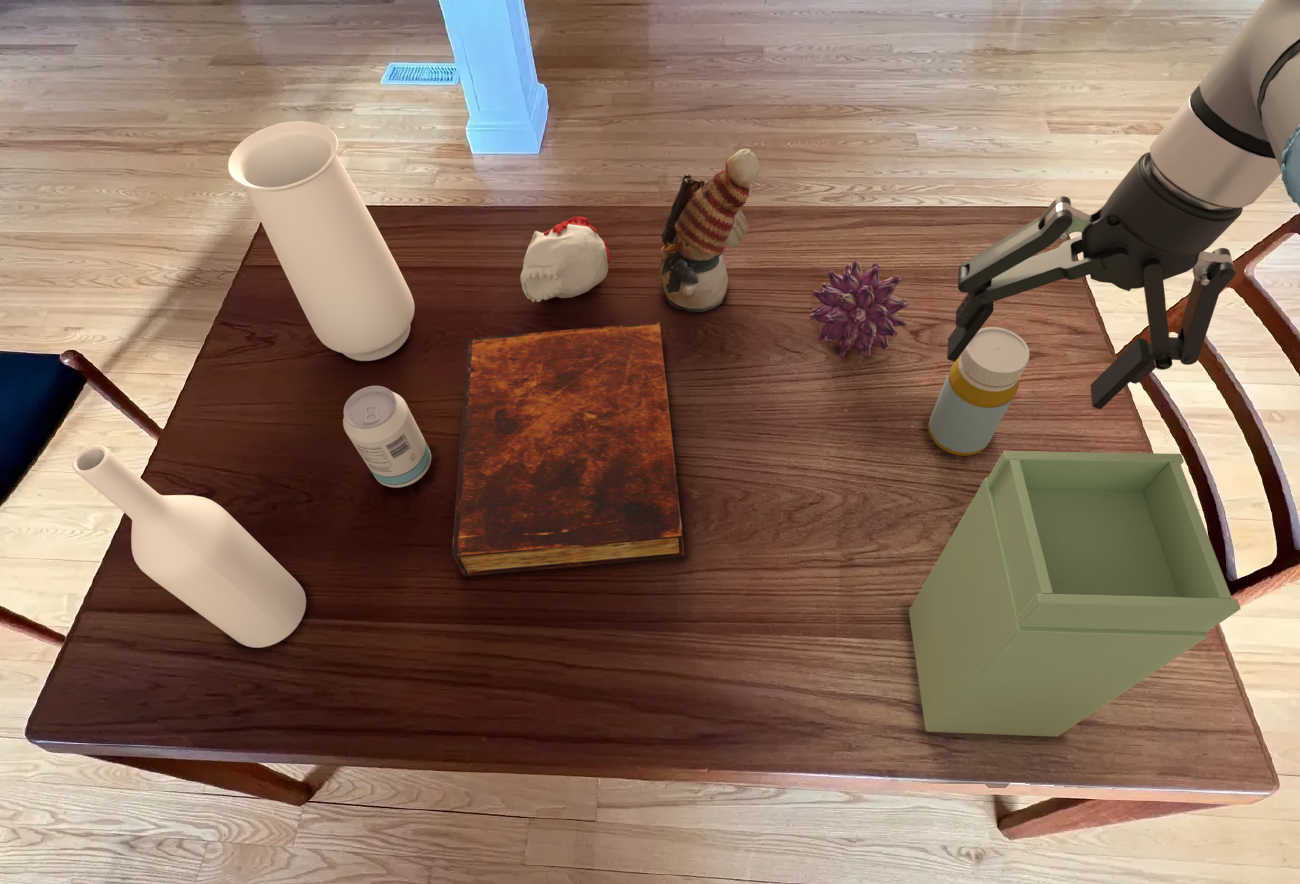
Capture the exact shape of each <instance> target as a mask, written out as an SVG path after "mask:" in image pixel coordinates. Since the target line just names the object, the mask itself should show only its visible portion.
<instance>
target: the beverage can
mask: <svg viewBox="0 0 1300 884" xmlns="http://www.w3.org/2000/svg"><path fill="white" fill-rule="evenodd" d="M342 419H343V420H342V425H343V426H342V427H343V429H344V432H345V433H346V435H347V437H348V438H349V440H350V441H351V442H352V444H353V446H354V448H355V449H356V451H357V452H358V454H359V456H361V458H362V460H363V462H364V463H365V464H366V466H367V468H368V470H369V471H370V472H371V474H372V476H373V477H374V478H375V479H376V481H377V482H378V483H380V485H383V486H385V487H389V488H403V487H404V488H405V487H408V486H410V485H412V484H414V483H416V482H418V481H419V480H420V479H422V478H423V476H425V474H426V473H427V472H428V470H429V468H430V466H431V463H432V453H431V450H430V448H429V446H428V443H427V441H426V439H425V438H424V435H423V433H422V431H421V430H420V428H419V426H418V424H417V421H416V420H415V418H414V416H413V414H412V412H411V410H410V408H409V406H408V404H407V402H406V401H405V399H404V398H403V396H401V395H400V394H398V393H396V392H394V391H392V390H391V389H389V388H387V387H385V386H382V385H370V386H365V387H363V388H361V389H360V388H359V390H357V391H355V392H354V393H352V395H351V396H350V397H349V398H348V399H347V400H346V402H345V404H344V407H343V418H342Z"/></svg>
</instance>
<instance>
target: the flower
mask: <svg viewBox="0 0 1300 884" xmlns="http://www.w3.org/2000/svg"><path fill="white" fill-rule="evenodd" d="M880 270H881V266H880V263H877V262H875V261H874V262H873V264H872V265H871V266H870V268H868V269H867V270H866V271H865V272H863V271H862V269H861V267H860V266H859V260H858V259H854V260H853V261H852V263H850V264H849V263H848V264H846V265H845V270H843V271H842V275H841V274H839V273H837V272H834V271H833V269H830V270H828V271H827V272H826V274H827V275H828V277H829V283H830V284H829V283H826V282H823V283H822V285H821V287H820V288H819V290H815V289H813V291H812V293H811V295H812V296H814V297H816V298H817V300H819V302H820V303H821V304H820V305H819V306H818V307H815V308H812V310H811V313H810V314H809V315H808V316H809V319H810V321H817V322H819V323H822V324H823V327H822V329H821V331H820V333H819V334H818V335H817V336H816V338H817V340H818V342H819V343H823V342H824V343H825V344H828V343H829V342H832V341H835V340H838V344H839V354H838V355H839V356H841V357H842V358H844V357H845V356H846V353H847V351H848V350H850V349H851V348H852V347H853V346H854V347H855V349H856V351H857V352H858V357H859V358H861V357H863V355H865V356H869V355H871V354H872V353H871V347H872V345H877V346H879V347H880V348H881V349H882V350H883V351H884V352H885V351H887V350H888V348H891V345H890V344H889V339H888V337H889V336H890V337H892V338H896V336H898V333H899V331H898V330H897V329H896V328H895V327H900V326H901V327H907V325H908V322H907V321H905V320H903V319H902V318H901V317H899V315H898V314H896V313H898V312H899V311H901V310H902V309H905V308H908V305H909V302H908V298H907V297H906V298H901V297H898V296H896V295H893V294H894V292H895V290H896V288H897V285H898V284H900V282H901V281H902V278H901V277H900V275H896V276H895V277H891V276H890V277H889V278H888V279H885V280H881V279H880V274H879V273H880ZM880 280H881V281H880Z"/></svg>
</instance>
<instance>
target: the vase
mask: <svg viewBox="0 0 1300 884" xmlns="http://www.w3.org/2000/svg"><path fill="white" fill-rule="evenodd" d="M339 146H340V145H339V139H338V137H337V135H336V134H335V132H334V131H333V130H332V129H330V128H329V127H327V125H324V124H322V123H318V122H315V121H309V120H290V121H285V122H279V123H275V124H271V125H268V126H266V127H264V128H262V129H260V130H259V129H258V130H257V131H255V132H253V133H251V134H250V135H249V136H247V137H246V138H244V139H243V140H242V141H241V142H239V144H237V146H236V147H235V148H234V149H233V151H232V153H231V154H230V156H229V159H228V163H227V169H228V174H229V176H230V177H231V179H232V180H233V181H234V182H235V183H236V184H238V185H239V186H241V187H244V188H245V190H246V192H247V194H248V197H249V199H250V200H251V204H252V205H253V208H254V210H255V212H256V214H257V216H258V219H259V221H260V223H261V225H262V227H263V229H264V231H265V233H266V236H267V238H268V240H269V242H270V244H271V246H272V248H273V251H274V253H275V255H276V257H277V259H278V261H279V263H280V265H281V268H282V270H283V272H284V275H285V276H286V278H287V280H288V282H289V285H290V286H291V289H292V290H293V292H294V296H295V297H296V299H297V301H298V303H299V305H300V307H301V309H302V311H303V313H304V315H305V317H306V320H307V321H308V323H309V324H310V326H311V328H312V330H313V332H314V333H315V335H316V337H317V338H318V339H319V342H321V343H322V344H323V345H324V346H326V347H327V348H328V349H330V350H331V351H335V352H337V353H341V354H342V355H344V356H345V357H347V358H349V359H352V360H354V361H358V362H370V361H376V360H380V359H383V358H385V357H388V356H390V355H392V354H393V353H395V352H396V351H398V350H399V349H400V348H401V347H402V346H403V345H404V344H405V342H406V341H407V339H408V338H409V336H410V332H411V324H412V321H413V319H414V316H415V308H416V307H415V301H414V297H413V294H412V292H411V290H410V288H409V286H408V284H407V282H406V280H405V277H404V276H403V274H402V272H401V270H400V268H399V266H398V264H397V262H396V260H395V258H394V256H393V255H392V252H391V251H390V248H389V247H388V244H387V243H386V241H385V239H384V238H383V236H382V234H381V232H380V229H379V228H378V227H377V224H376V222H375V221H374V219H373V217H372V215H371V213H370V211H369V209H368V207H367V206H366V204H365V202H364V201H363V198H362V197H361V195H360V193H359V191H358V190H357V188H356V186H355V184H354V183H353V181H352V179H351V177H350V175H349V173H348V172H347V170H346V168H345V166H344V164H343V163H342V161H341V159H340V157H339V155H338V153H339V148H340V147H339Z"/></svg>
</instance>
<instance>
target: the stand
mask: <svg viewBox="0 0 1300 884" xmlns="http://www.w3.org/2000/svg"><path fill="white" fill-rule="evenodd" d="M1184 462H1185V461H1184V458H1183V455H1182V453H1162V452H1161V453H1157V452H1156V453H1154V452H1153V453H1151V452H1150V453H1149V452H1087V451H1086V452H1081V451H1079V452H1077V451H1021V450H1020V451H1015V450H1014V451H1013V450H1011V451H1010V450H1009V451H1008V450H1004V451H1003V452H1002V453H1001V454H1000V456H999V458H998V459H997V462H995V464H994V467H993V468H992V470H991V471H990V474H989V475H988V477H987V476H986V477H984V479H983V481H982V483H981V485H980V486H979V488H978V490H977V492H976V493H975V495H974V496H973V498H972V500H971V502H970V504H969V505H968V507H967V509H966V510H965V512H964V514H963V515H962V517H961V519H960V521H959V523H958V525H956V528H955V529H954V531H953V533H952V535H951V536H950V538H949V540H948V542H947V543H946V545H945V547H944V548H943V551H942V552H941V554H940V556H939V557H938V559H937V561H936V562H935V564H934V566H933V567H932V569H931V571H930V573H929V575H928V576H927V578H926V580H925V582H924V583H923V585H922V587H921V589H920V590H919V592H918V593H917V596H916V597H915V599H914V600H913V602H912V604H911V606H910V608H909V609H908V614H909V615H908V616H909V623H910V631H911V635H912V644H913V651H914V659H915V664H916V665H915V666H916V672H917V673H916V674H917V680H918V688H919V694H920V701H921V708H922V716H923V723H924V729H925V732H928V733H951V734H952V733H954V734H978V735H979V734H980V735H1003V736H1004V735H1007V736H1028V737H1029V736H1031V737H1032V736H1033V737H1055V738H1056V737H1057V738H1058V737H1059V736H1061V735H1062V734H1064V733H1066V732H1067V731H1069V730H1070V729H1071V728H1073V727H1074V726H1076V725H1077V724H1079V723H1080V722H1082V721H1083V720H1085V719H1087V718H1089V716H1091V715H1092V714H1094V713H1095V712H1097V711H1098V710H1100V709H1101V708H1103V707H1104V706H1106V705H1107V704H1109V703H1111V702H1112V701H1113V700H1115V699H1117V698H1118V697H1119V696H1121V695H1122V694H1124V693H1125V692H1127V691H1128V690H1130V689H1132V688H1133V687H1134V686H1136V685H1138V684H1139V683H1141V682H1142V681H1144V680H1145V679H1146V678H1148V677H1150V676H1151V675H1152V674H1154V673H1156V672H1157V671H1158V670H1160V669H1162V668H1163V667H1165V666H1166V665H1168V664H1169V663H1171V662H1172V661H1173V660H1176V659H1177V658H1178V657H1179V656H1181V655H1183V654H1184V653H1185V652H1187V651H1189V650H1190V649H1192V648H1193V647H1194V646H1196V645H1198V644H1199V643H1201V642H1202V641H1203V640H1205V639H1207V638H1208V634H1207V633H1208V632H1209V631H1210V630H1213V628H1215V627H1217V626H1218V625H1219V624H1221V623H1223V622H1224V621H1225V620H1227V619H1228V618H1230V617H1231V616H1233V615H1234V614H1236V613H1237V612H1239V611H1240V610H1241V608H1242V607H1241V605H1240V603H1239V600H1238V599H1237V598H1232V597H1233V596H1232V594H1231V592H1230V590H1229V587H1228V584H1227V581H1226V580H1225V577H1224V573H1223V572H1222V569H1221V566H1220V563H1219V560H1218V558H1217V555H1216V553H1215V550H1214V548H1213V545H1212V542H1211V540H1210V537H1209V535H1208V531H1207V529H1206V527H1205V525H1204V521H1203V520H1202V519H1203V518H1202V517H1201V514H1200V511H1199V509H1198V506H1197V503H1196V501H1195V498H1194V496H1193V493H1192V490H1191V488H1190V484H1189V482H1188V481H1187V477H1186V475H1185V472H1184V469H1183V467H1182V465H1183V464H1184Z"/></svg>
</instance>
